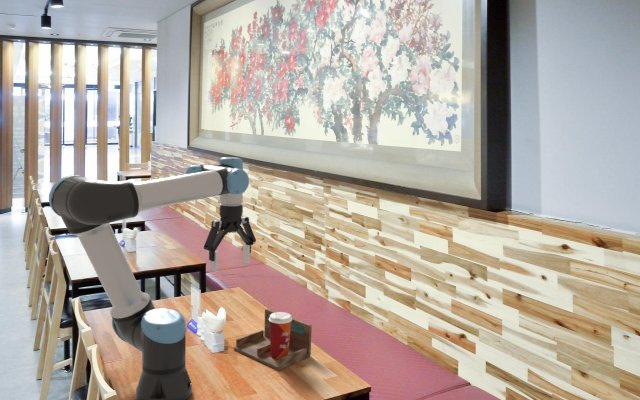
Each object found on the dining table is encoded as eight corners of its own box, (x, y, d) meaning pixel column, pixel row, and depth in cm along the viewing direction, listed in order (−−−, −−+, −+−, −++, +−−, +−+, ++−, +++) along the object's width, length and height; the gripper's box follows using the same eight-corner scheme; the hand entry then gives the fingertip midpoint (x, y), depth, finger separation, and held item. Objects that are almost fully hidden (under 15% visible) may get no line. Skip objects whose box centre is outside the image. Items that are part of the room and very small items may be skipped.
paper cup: (287, 362, 169) (288, 320, 167) (264, 359, 171) (265, 318, 169) (293, 352, 177) (294, 312, 175) (271, 350, 178) (272, 310, 176)
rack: (278, 370, 166) (279, 337, 164) (233, 349, 180) (234, 318, 178) (310, 356, 177) (311, 324, 175) (266, 337, 191) (266, 308, 190)
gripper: (252, 199, 186) (251, 258, 189) (192, 206, 168) (192, 271, 171) (266, 202, 181) (265, 262, 184) (206, 209, 163) (206, 275, 166)
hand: (230, 266), depth 177 cm, fingers open, 13 cm apart
